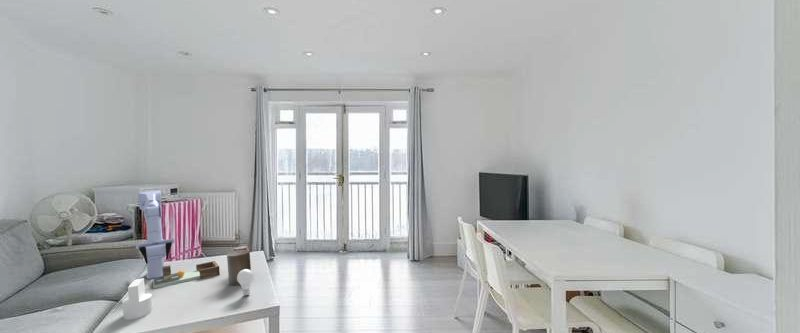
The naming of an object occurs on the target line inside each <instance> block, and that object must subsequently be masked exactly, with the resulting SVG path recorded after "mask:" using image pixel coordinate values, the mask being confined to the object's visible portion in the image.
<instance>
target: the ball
mask: <svg viewBox="0 0 800 333" xmlns="http://www.w3.org/2000/svg"><path fill="white" fill-rule="evenodd" d="M176 273H177V276H178V277H182V276H184V273H185V271H183V270H178V271H177V272H176Z"/></svg>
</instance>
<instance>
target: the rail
mask: <svg viewBox="0 0 800 333" xmlns="http://www.w3.org/2000/svg"><path fill="white" fill-rule="evenodd" d="M177 273H178V272H174V273H171V277H174V278H170V279H165V280H161V279H163V276H159V277H155V278H153V280H154V283H155V285H157V284H162V283H166V282H171V281H175V280H179V277H175V276H177ZM157 280H161V281H157Z"/></svg>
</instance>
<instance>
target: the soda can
mask: <svg viewBox="0 0 800 333" xmlns="http://www.w3.org/2000/svg"><path fill="white" fill-rule="evenodd" d="M237 250H249V251H250V249H249V246H248V245H244V244H243V245H238V246H235V247H234V248H233V251H237Z"/></svg>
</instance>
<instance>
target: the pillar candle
mask: <svg viewBox="0 0 800 333" xmlns="http://www.w3.org/2000/svg"><path fill="white" fill-rule="evenodd" d="M226 257H227V260H226V261H227V272H228V284H229V285H230V286H241V285H240V284H239V282H238V281H237V275H238V273H239V272H240V271H241V270H243V269H249V270H251V271H252V267H251V266H252V265H251V263H252V262H251V253H250V249H249V250H237V251H234V250H233V251H231V252H228V253H227V254H226Z"/></svg>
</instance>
